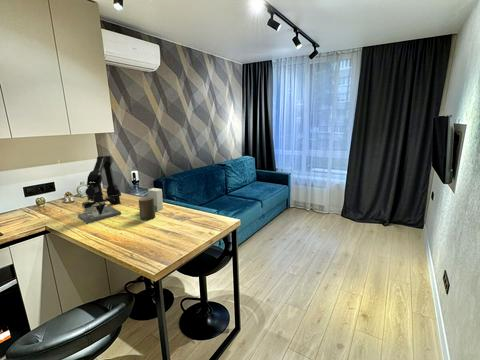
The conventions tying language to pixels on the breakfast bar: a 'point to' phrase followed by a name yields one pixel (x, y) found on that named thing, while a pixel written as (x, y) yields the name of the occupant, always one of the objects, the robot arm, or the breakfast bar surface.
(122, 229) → the breakfast bar surface
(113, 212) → the console
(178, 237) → the breakfast bar surface
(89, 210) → the dial
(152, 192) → the skincare box
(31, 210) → the breakfast bar surface
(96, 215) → the fader
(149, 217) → the pillar candle
